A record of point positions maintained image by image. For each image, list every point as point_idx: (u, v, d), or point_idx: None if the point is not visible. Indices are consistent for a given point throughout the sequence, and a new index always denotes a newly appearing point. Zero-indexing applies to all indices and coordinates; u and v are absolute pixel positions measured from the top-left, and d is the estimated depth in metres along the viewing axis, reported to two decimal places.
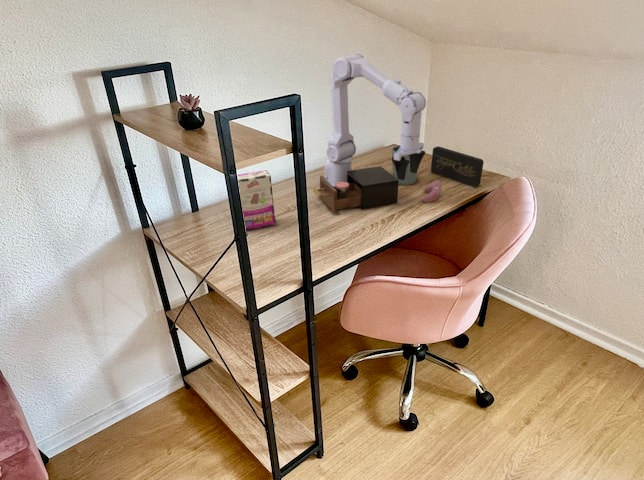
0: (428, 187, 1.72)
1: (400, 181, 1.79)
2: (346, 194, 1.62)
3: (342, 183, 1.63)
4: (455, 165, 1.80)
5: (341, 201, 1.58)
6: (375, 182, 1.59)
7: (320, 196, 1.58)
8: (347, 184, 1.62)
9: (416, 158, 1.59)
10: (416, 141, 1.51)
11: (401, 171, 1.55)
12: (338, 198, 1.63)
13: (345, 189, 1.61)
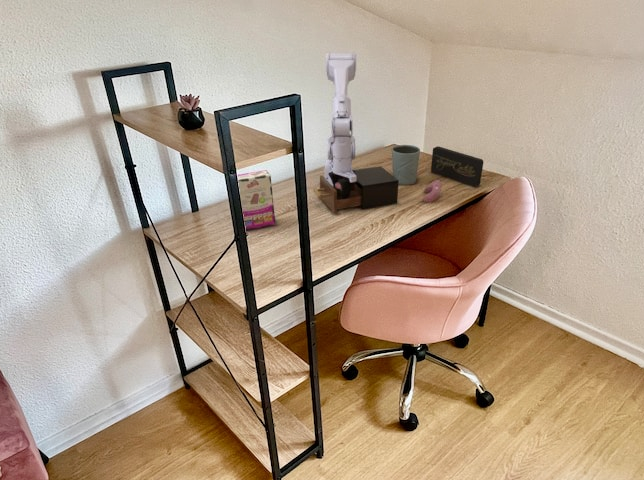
0: (428, 187, 1.72)
1: (400, 181, 1.79)
2: None
3: None
4: (455, 165, 1.80)
5: (341, 201, 1.58)
6: (375, 182, 1.59)
7: (320, 196, 1.58)
8: None
9: (340, 178, 1.63)
10: None
11: (347, 190, 1.60)
12: (338, 198, 1.63)
13: None
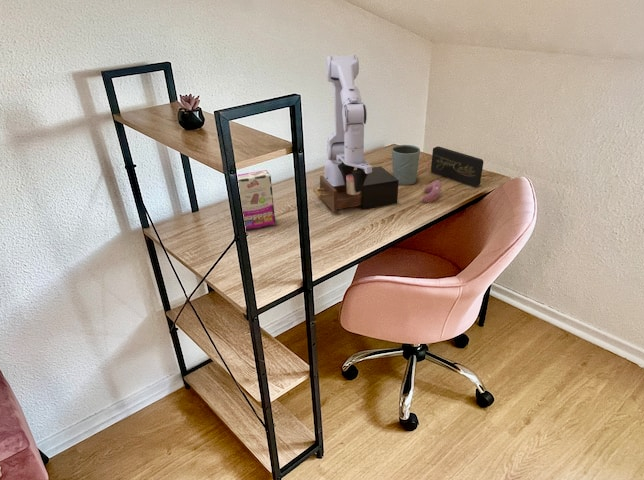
0: (428, 187, 1.72)
1: (400, 181, 1.79)
2: None
3: None
4: (455, 165, 1.80)
5: (341, 201, 1.58)
6: (375, 182, 1.59)
7: (320, 196, 1.58)
8: None
9: (351, 170, 1.52)
10: None
11: (360, 182, 1.49)
12: (350, 191, 1.51)
13: None
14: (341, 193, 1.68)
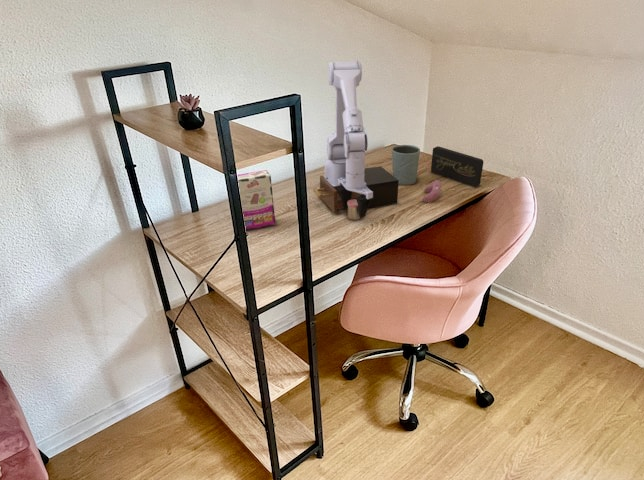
0: (428, 187, 1.72)
1: (400, 181, 1.79)
2: None
3: (354, 200, 1.55)
4: (455, 165, 1.80)
5: (341, 201, 1.58)
6: (375, 182, 1.59)
7: (320, 196, 1.58)
8: None
9: (349, 193, 1.56)
10: None
11: (364, 208, 1.52)
12: (351, 217, 1.55)
13: None
14: None
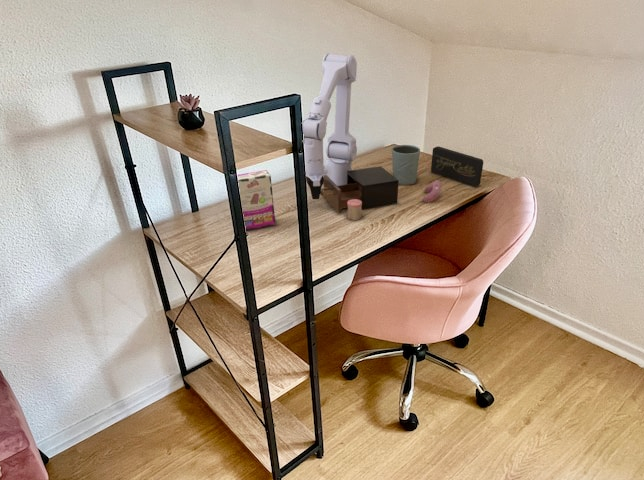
0: (428, 187, 1.72)
1: (400, 181, 1.79)
2: (359, 212, 1.54)
3: (354, 200, 1.55)
4: (455, 165, 1.80)
5: (345, 201, 1.59)
6: (375, 182, 1.59)
7: (324, 195, 1.58)
8: (360, 202, 1.54)
9: None
10: (323, 163, 1.54)
11: (316, 191, 1.59)
12: (351, 217, 1.55)
13: (359, 207, 1.53)
14: (345, 192, 1.69)
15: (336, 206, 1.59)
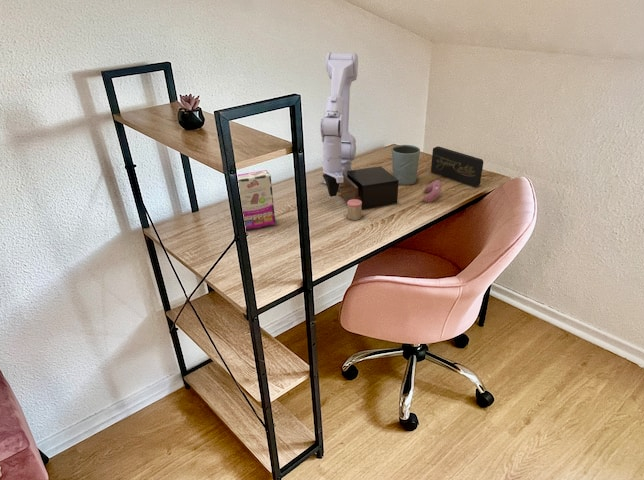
0: (428, 187, 1.72)
1: (400, 181, 1.79)
2: (359, 212, 1.54)
3: (354, 200, 1.55)
4: (455, 165, 1.80)
5: (361, 198, 1.61)
6: (375, 182, 1.59)
7: (341, 193, 1.60)
8: (360, 202, 1.54)
9: None
10: None
11: (334, 188, 1.61)
12: (351, 217, 1.55)
13: (359, 207, 1.53)
14: (361, 190, 1.71)
15: None
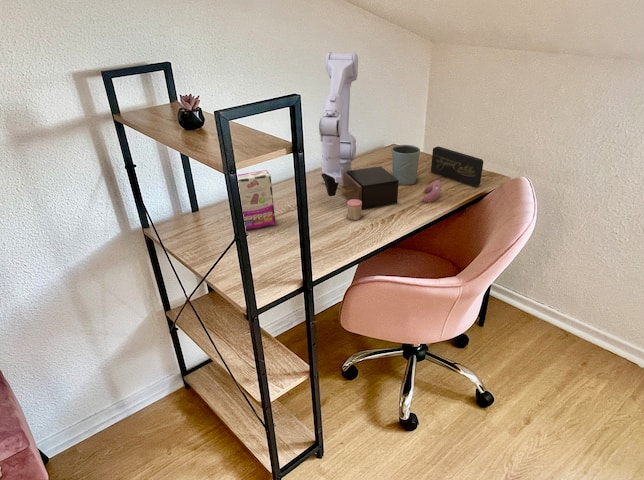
0: (428, 187, 1.72)
1: (400, 181, 1.79)
2: (359, 212, 1.54)
3: (354, 200, 1.55)
4: (455, 165, 1.80)
5: None
6: (375, 182, 1.59)
7: (345, 192, 1.60)
8: (360, 202, 1.54)
9: None
10: None
11: (333, 187, 1.60)
12: (351, 217, 1.55)
13: (359, 207, 1.53)
14: None
15: None
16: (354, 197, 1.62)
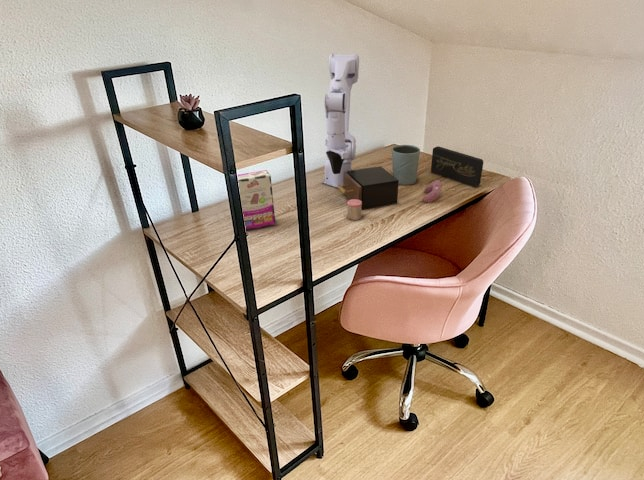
0: (428, 187, 1.72)
1: (400, 181, 1.79)
2: (359, 212, 1.54)
3: (354, 200, 1.55)
4: (455, 165, 1.80)
5: None
6: (375, 182, 1.59)
7: (345, 192, 1.60)
8: (360, 202, 1.54)
9: None
10: None
11: (338, 165, 1.60)
12: (351, 217, 1.55)
13: (359, 207, 1.53)
14: None
15: None
16: (354, 197, 1.62)
